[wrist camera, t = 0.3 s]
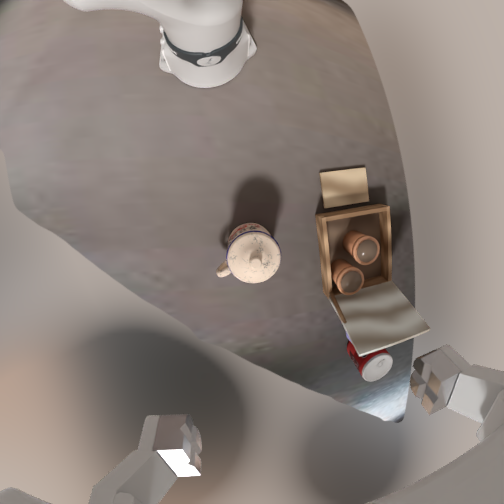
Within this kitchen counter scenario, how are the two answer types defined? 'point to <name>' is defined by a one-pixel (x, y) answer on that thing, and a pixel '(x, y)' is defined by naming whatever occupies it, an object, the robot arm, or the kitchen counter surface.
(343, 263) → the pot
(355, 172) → the cork mat
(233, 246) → the teacup with lid
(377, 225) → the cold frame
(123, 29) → the kitchen counter surface
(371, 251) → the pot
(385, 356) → the canned food
